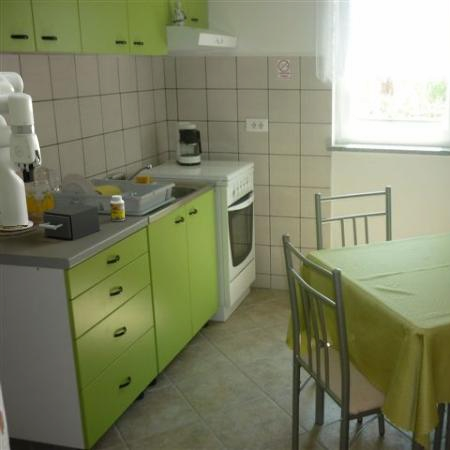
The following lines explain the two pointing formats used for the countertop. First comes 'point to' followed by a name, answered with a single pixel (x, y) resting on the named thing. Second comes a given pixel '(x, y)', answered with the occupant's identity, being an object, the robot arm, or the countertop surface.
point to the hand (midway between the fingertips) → (28, 182)
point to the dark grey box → (78, 219)
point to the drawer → (56, 226)
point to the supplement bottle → (117, 208)
